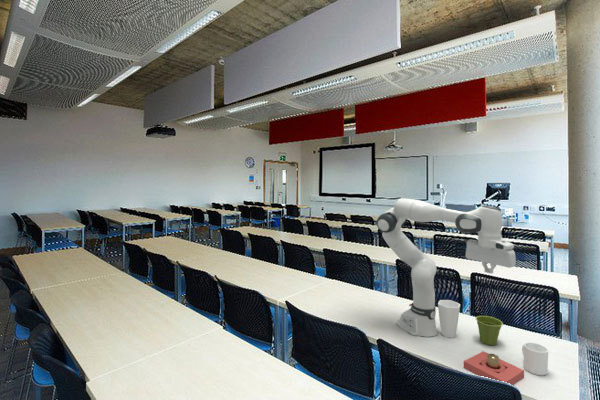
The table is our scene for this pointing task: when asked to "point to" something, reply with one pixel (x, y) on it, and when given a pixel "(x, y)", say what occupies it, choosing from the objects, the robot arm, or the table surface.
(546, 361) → the mug
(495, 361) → the tan cylinder plug
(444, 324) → the cup
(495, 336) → the plant pot
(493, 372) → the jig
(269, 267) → the table surface
